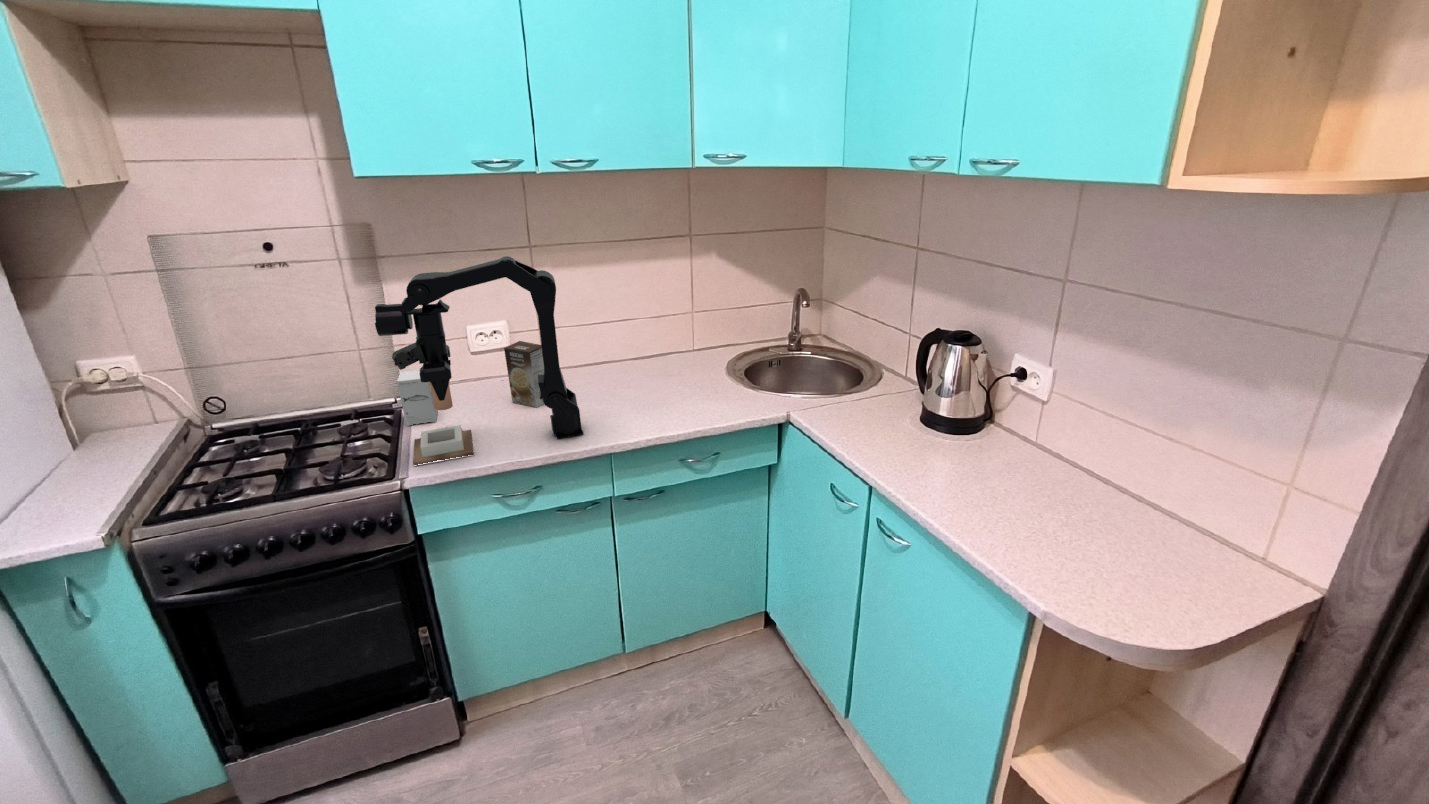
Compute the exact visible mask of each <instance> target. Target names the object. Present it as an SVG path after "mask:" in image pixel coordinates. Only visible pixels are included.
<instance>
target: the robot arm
mask: <svg viewBox="0 0 1429 804" xmlns="http://www.w3.org/2000/svg"><path fill="white" fill-rule="evenodd" d="M504 278H506V279H508V280H510V281H512V282H513V283H515V285H517V286H519V287H520V288H522V289H524V290H526V291H528V292H529V293H530V296H531V300H532V303H533V305H534V309H535V310H536V311H535V312H536V314H537V318H538V329H539V336H540V345H541V346H542V354H543V362H544V375H538V385H539V391H540V399H542V398H543V402H544V404H543V405H544V406H545V407H547V408H548V409H551V415H549V416H550V426H551V430H552V434H553V435H555V437H556V440H557V439H558V440H560V439H565V438H566V439H567V438H571V437H576V436H581V435H584V430H583V428H582V421H581V414H580V413H581V412H580V408H579V406H578V399H577V396H576V395H577V394H576V393H575V392H573V391H572V390H570V389H569V388H568V387H567V385H566V382H565V379H564V375H563V372H562V370H561V367H560V359H559V350H558V342H557V334H556V333H557V331H556V323H555V308H556V307H555V306H556V296H557V286H556V280H555V277H554V276H553V274H551V273H550V272H549V271H546V270H541V269H540V270H537V269H535V268H534V267H532V266H529V265H528V264H525V263H524V262H520V261H518V260H516V259H514V258H513V257H511V256H502V257H500V258H498V259H494V260H490V261H487V262H483V263H478V264H475V265H471V266H467V267H463V268H461V269H456V270H453V271H446V272H439V271H434V272H432V271H431V272H424V273H418V274H416V275H414V276H413V277H412V278H411V280H410V281H409V282H408V284H407V286H406V295H407V297H405V298H404V299H403V300H402V302H401V303H392V304H391V303H388V304H384V303H379V304H376V306H374V311H375V316H374V317H375V323H374V325H375V330H376V333H377V335H378V336H379V337H385V336H399V335H408V334H409V330H413V328H415V335H416V337H415V339H416V341H415V342H413V343H410V344H408V345H406V346H404V347H402V348H399V349H397V350H395V351H393V352H392V355H391V358H392V360H393V363H394V365H395V366H396V367H397V368H398V370H400V371H401V370H404V369H406V368H407V367H409V366H411V365H413V364H415V363H417V362H418V363H419V364H420V365H421V364H422V366H421V367H420V368H419V370H420V379H421V382H431V384H432V386H433V388H434V390H435V392H436V395H437V397H438V399H439V401H443V400H445V396H446V392H447V388H448V384H449V385H450V380H451V379H452V377H453V376H452V369H451V365H452V364H451V359H449V358H451V350H450V346H449V345H448V344H447V341H446V332H445V329H444V324H443V317H442V314H443V313H445V314H446V313H448V312H449V310H450V306H449V305H448V304H447V303H445V302H443V300H442V298H443V297H445V296H447V295H449V294H450V293H453V292H455V291H459V290H462V289H466V288H470V287H474V286H477V285H481V284H485V283H488V282H493V281H496V280H500V279H504ZM437 300H438V301H437ZM436 301H437V302H436ZM433 302H436V303H433ZM419 306H421V307H419ZM417 307H419V308H417ZM413 323H414V324H413ZM413 325H414V327H413Z"/></svg>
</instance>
